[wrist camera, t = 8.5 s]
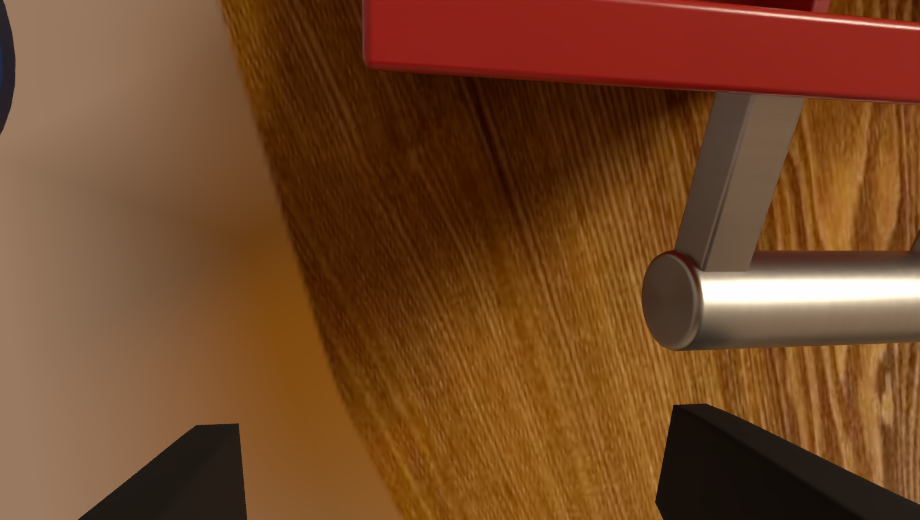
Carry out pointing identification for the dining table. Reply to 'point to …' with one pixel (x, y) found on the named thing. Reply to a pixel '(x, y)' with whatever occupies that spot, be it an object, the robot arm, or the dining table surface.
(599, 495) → the dining table surface
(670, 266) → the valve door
